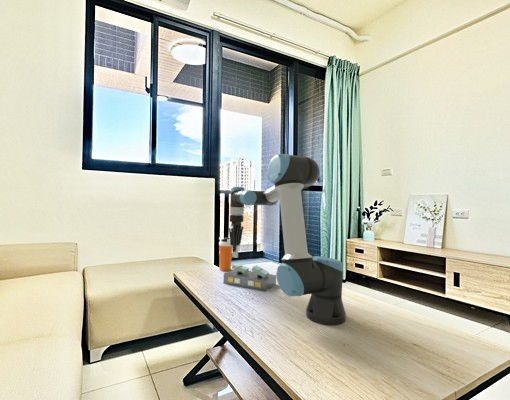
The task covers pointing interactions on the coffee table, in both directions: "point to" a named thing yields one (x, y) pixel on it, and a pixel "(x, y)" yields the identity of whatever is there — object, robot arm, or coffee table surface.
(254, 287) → the console
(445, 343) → the coffee table surface
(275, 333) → the coffee table surface
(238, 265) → the switch
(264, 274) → the switch
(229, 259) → the shaker bottle
